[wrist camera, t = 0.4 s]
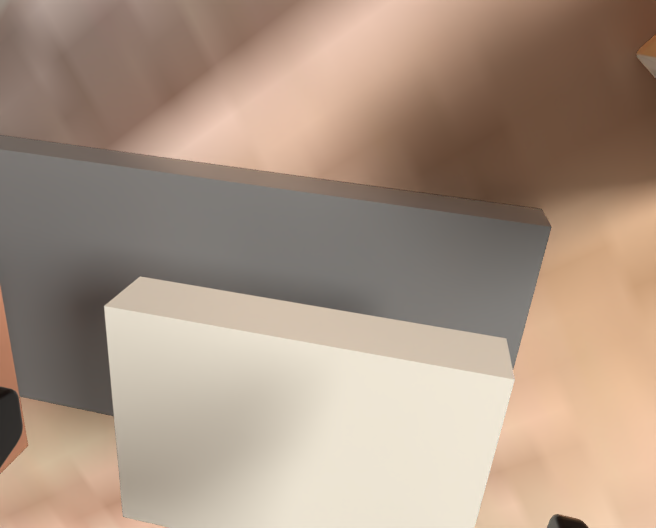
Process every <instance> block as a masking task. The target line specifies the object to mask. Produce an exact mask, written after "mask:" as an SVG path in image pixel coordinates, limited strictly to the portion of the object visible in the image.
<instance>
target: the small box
mask: <svg viewBox="0 0 656 528" xmlns="http://www.w3.org/2000/svg"><path fill="white" fill-rule="evenodd" d="M637 58H638V59H639V60H640V61H641V63H642V64H643V65H644V66H645V67H646V68H647V69H648V70H649V72H650V73H651V74H652V75H653V76H654V77H655V78H656V34H655V35H654V36H653V37H652V38H651V39H650V40H649V41H647V42H646V43H645V44H644V45H643V46H642V47H641V48H640V49H639V50H638V52H637Z"/></svg>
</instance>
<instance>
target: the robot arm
mask: <svg viewBox="0 0 656 528" xmlns="http://www.w3.org/2000/svg"><path fill="white" fill-rule="evenodd" d="M22 430H23V423H22V416H21V409H20V402H19V396H18V394H17V392H16V391H15V390H13V389H10V388H5V387H1V386H0V468H1V466H2V465H3V463H4V462H5V460H6V459H7V458H8V456H9V455H10V453H11V452H12V450H13V449H14V447H15V446H16V444H17V443H18V441H19V439H20V437H21V434H22ZM547 528H588V526H587V525H586V524H585V523H584V522H583V521H581V520H579V519H576V518H572V517H568V516H563V515H559V514H557V515H553V516H552V518H551V519H550V521H549V524H548V526H547Z"/></svg>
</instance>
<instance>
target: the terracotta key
mask: <svg viewBox="0 0 656 528" xmlns="http://www.w3.org/2000/svg"><path fill="white" fill-rule="evenodd" d="M0 386H1V387H5V388H10V389H13V390H15V391H16V392H17V394H18V396H19V390H18V384H17V379H16V373H15V367H14V361H13V356H12V350H11V344H10V338H9V333H8V327H7V321H6V315H5V310H4V304H3V298H2V292H1V286H0ZM19 402H20V396H19ZM20 409H21V416H22V423H23V430H22V434H21V437H20V439H19V441H18V443H17V444H16V446H15V447H14V449H13V450H12V452H11V453H10V455H9V456H8V458H7V459H6V460H5V462H4V463H3V465H2V466H1V468H0V474H1V473H2V472H3V471H4V470H5V469H6V468H7V467H8V466H9V465H10V464H11V463H12V462H13V461H14V459H15V458H16V457H17V456H18V455H19V454H20V453H21V452H22V451H23V450H24V449H25V448H26V447H27V446H28V442H27V436H26V430H25V425H24V419H23V413H22V407H21V402H20Z"/></svg>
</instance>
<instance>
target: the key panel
mask: <svg viewBox="0 0 656 528" xmlns="http://www.w3.org/2000/svg"><path fill="white" fill-rule="evenodd" d="M550 230H551V225H550V223H549V222H548V220H547V218H546V216H545V214H544V212H543V210H542V209H537V208H530V207H522V206H515V205H508V204H500V203H493V202H486V201H478V200H471V199H464V198H457V197H449V196H442V195H435V194H427V193H420V192H413V191H405V190H398V189H391V188H383V187H376V186H369V185H361V184H354V183H347V182H339V181H332V180H325V179H317V178H310V177H303V176H296V175H288V174H281V173H274V172H266V171H259V170H252V169H244V168H237V167H230V166H222V165H215V164H208V163H200V162H193V161H186V160H178V159H171V158H164V157H157V156H149V155H142V154H135V153H127V152H120V151H113V150H105V149H98V148H91V147H83V146H76V145H69V144H61V143H54V142H47V141H39V140H32V139H25V138H17V137H10V136H3V135H0V286H1V292H2V298H3V304H4V310H5V315H6V321H7V327H8V333H9V338H10V344H11V350H12V356H13V361H14V367H15V373H16V379H17V384H18V390H19V396H20V397H25V398H29V399H34V400H39V401H44V402H48V403H53V404H58V405H63V406H68V407H72V408H77V409H82V410H87V411H92V412H96V413H101V414H106V415H111V416H114V412H113V401H112V389H111V378H110V367H109V356H108V345H107V334H106V323H105V311H104V306H105V305H106V304H107V303H108V302H110V301H111V300H112V299H113V298H114V297H116V296H117V295H118V294H119V293H120V292H122V291H123V290H124V289H125V288H127V287H128V286H129V285H130V284H131V283H133V282H134V281H135V280H136V279H138V278H139V277H140V276H141V277H147V278H153V279H158V280H164V281H170V282H176V283H182V284H188V285H194V286H200V287H206V288H212V289H217V290H223V291H229V292H235V293H241V294H247V295H253V296H259V297H265V298H271V299H276V300H282V301H288V302H294V303H300V304H306V305H312V306H318V307H324V308H330V309H336V310H341V311H347V312H353V313H359V314H365V315H371V316H377V317H383V318H389V319H395V320H400V321H406V322H412V323H418V324H424V325H430V326H436V327H442V328H448V329H454V330H459V331H465V332H471V333H477V334H483V335H489V336H495V337H501V338H506V339H507V344H508V349H509V354H510V359H511V364H512V368H514V365H515V361H516V357H517V353H518V350H519V346H520V342H521V338H522V335H523V331H524V327H525V324H526V320H527V316H528V312H529V309H530V305H531V301H532V297H533V294H534V290H535V286H536V283H537V279H538V275H539V271H540V268H541V264H542V260H543V256H544V253H545V249H546V245H547V241H548V238H549V234H550Z"/></svg>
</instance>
